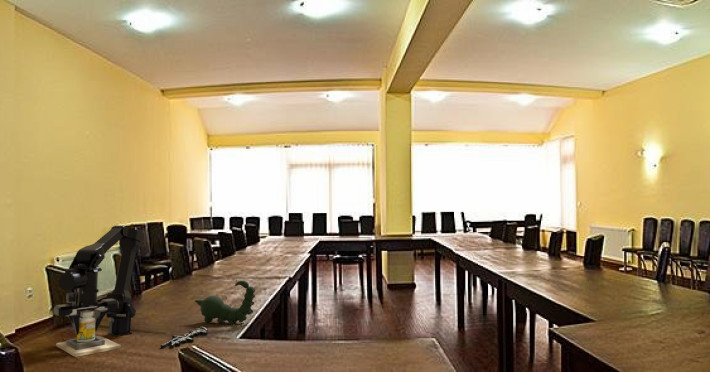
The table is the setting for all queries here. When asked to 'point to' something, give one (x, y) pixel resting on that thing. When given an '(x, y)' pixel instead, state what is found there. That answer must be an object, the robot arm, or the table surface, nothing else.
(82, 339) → the supplement bottle
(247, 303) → the toy figurine
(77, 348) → the collar board
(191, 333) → the toy rifle
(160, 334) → the table surface
